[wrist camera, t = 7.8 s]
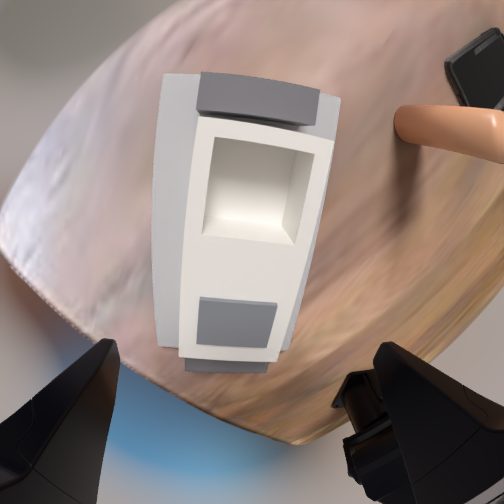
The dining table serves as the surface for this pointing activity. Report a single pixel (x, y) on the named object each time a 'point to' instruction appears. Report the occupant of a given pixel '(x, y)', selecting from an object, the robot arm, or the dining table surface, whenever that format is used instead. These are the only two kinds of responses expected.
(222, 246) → the white socket block
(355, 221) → the dining table surface
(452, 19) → the dining table surface
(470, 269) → the dining table surface
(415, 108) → the orange-brown tapered capsule
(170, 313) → the board
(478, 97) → the phone
